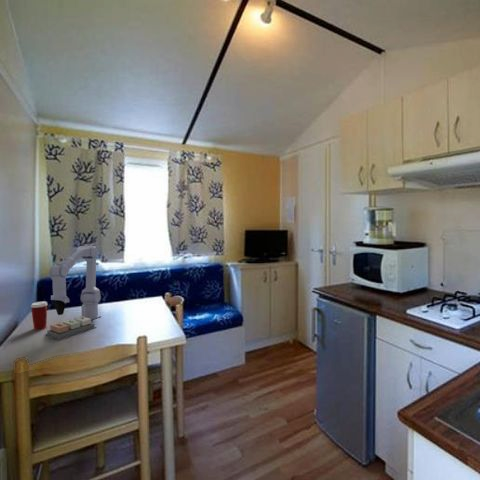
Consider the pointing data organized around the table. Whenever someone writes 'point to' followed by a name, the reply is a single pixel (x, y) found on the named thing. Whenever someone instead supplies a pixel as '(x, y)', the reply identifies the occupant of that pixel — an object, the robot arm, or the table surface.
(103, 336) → the table surface
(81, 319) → the key one
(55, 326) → the key three
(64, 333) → the keypad board
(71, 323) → the key two
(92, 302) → the robot arm
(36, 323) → the paper cup
